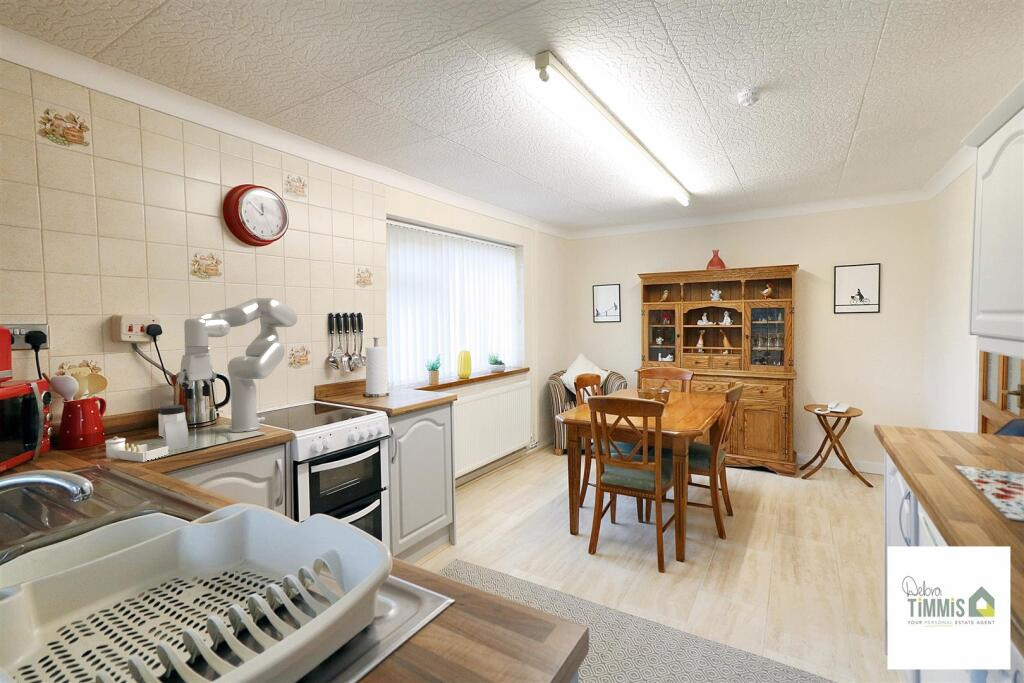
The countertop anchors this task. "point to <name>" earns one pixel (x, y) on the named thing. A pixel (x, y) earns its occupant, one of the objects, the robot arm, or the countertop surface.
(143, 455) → the header block
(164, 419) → the jar
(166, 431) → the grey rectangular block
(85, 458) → the countertop surface
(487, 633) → the countertop surface
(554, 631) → the countertop surface
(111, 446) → the sugar pot
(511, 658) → the countertop surface
